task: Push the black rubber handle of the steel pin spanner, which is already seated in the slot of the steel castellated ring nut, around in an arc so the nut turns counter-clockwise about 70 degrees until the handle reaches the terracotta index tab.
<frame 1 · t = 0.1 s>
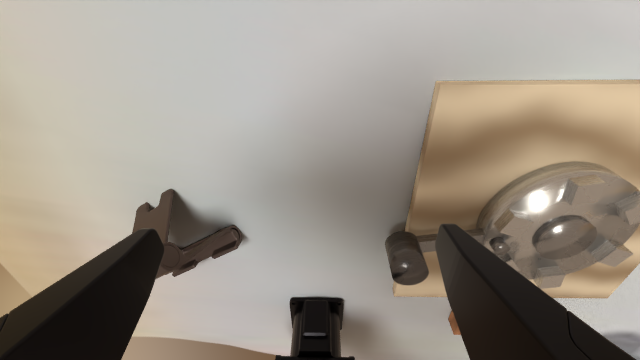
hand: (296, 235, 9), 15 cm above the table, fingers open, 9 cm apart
ring nut: (508, 242, 25), point 3 cm above the table, hinge at 0.0°
base plate: (537, 210, 27), on the table
portable electronic device stand: (185, 223, 29), on the table
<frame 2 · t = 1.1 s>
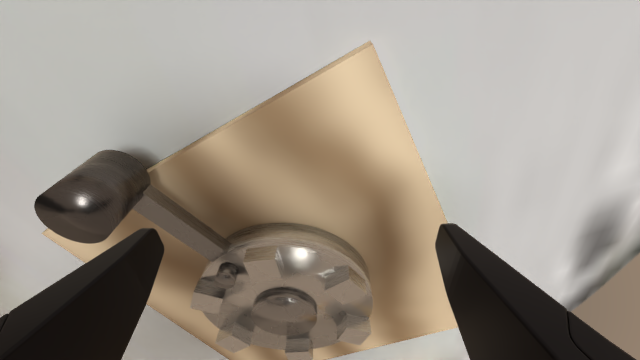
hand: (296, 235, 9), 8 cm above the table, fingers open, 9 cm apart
ring nut: (238, 278, 18), point 3 cm above the table, hinge at 0.0°
base plate: (290, 270, 23), on the table
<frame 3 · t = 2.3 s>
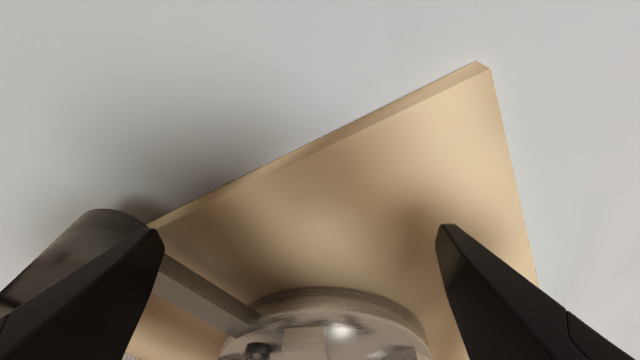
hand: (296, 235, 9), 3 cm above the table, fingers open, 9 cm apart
ring nut: (270, 359, 14), point 3 cm above the table, hinge at 0.0°, touching gripper
base plate: (325, 330, 19), on the table
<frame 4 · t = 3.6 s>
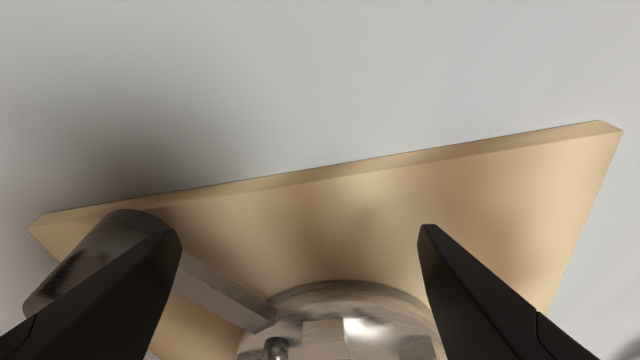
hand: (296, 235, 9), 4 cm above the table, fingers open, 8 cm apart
ring nut: (288, 354, 14), point 3 cm above the table, hinge at 19.2°, touching gripper
base plate: (338, 325, 19), on the table
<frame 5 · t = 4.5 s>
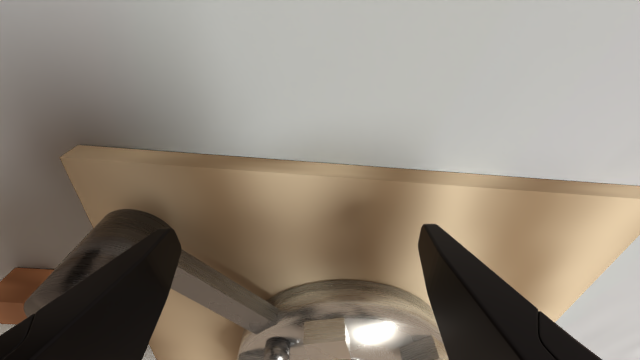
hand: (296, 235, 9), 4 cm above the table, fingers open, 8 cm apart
ring nut: (290, 354, 14), point 3 cm above the table, hinge at 35.7°, touching gripper
base plate: (340, 324, 19), on the table
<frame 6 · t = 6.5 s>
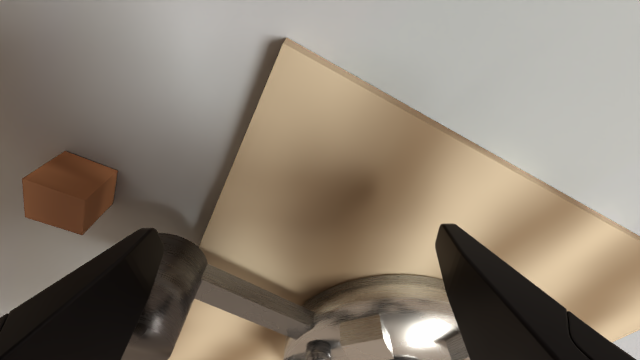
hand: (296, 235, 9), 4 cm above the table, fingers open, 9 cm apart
ring nut: (332, 356, 14), point 3 cm above the table, hinge at 69.7°
base plate: (383, 321, 18), on the table
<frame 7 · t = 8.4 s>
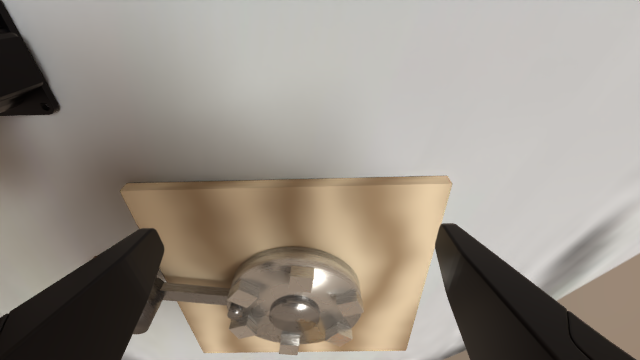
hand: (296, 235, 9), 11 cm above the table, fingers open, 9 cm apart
ring nut: (246, 308, 25), point 3 cm above the table, hinge at 69.7°
base plate: (297, 280, 28), on the table
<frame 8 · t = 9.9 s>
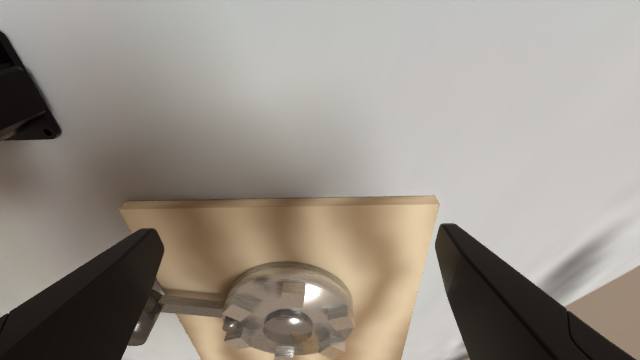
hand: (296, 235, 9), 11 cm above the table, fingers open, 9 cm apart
ring nut: (241, 320, 26), point 3 cm above the table, hinge at 69.7°
base plate: (291, 293, 29), on the table
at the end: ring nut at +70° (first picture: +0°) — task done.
